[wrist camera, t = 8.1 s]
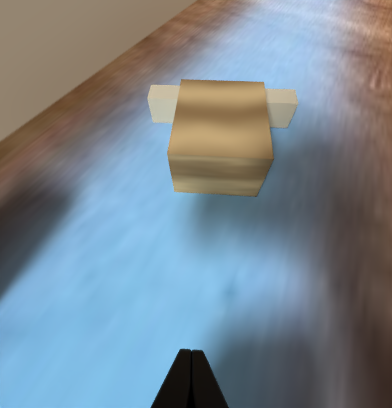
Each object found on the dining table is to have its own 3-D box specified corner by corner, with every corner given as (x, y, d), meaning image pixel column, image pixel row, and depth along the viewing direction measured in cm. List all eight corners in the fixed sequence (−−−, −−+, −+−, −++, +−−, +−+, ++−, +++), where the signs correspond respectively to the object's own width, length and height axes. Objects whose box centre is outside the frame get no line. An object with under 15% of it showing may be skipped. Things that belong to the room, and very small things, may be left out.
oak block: (256, 197, 26) (273, 159, 20) (174, 192, 26) (167, 153, 20) (251, 128, 31) (263, 82, 25) (184, 125, 32) (181, 79, 26)
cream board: (287, 128, 31) (299, 101, 27) (153, 122, 32) (146, 96, 28) (284, 114, 32) (295, 87, 29) (156, 109, 33) (151, 82, 30)
